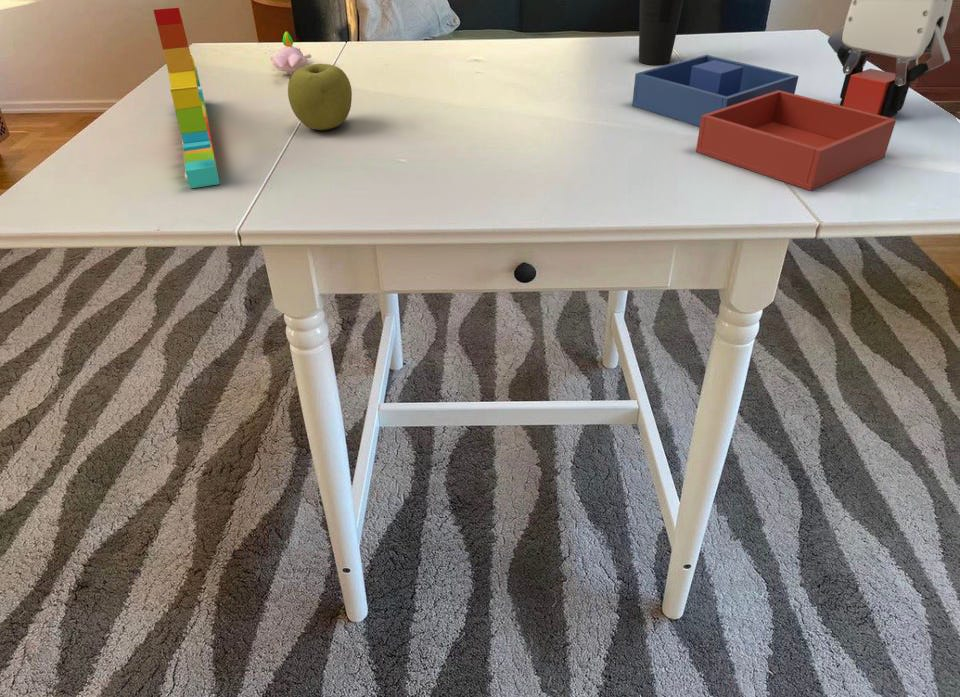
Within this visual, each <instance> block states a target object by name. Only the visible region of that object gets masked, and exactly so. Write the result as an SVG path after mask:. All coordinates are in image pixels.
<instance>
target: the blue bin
mask: <svg viewBox="0 0 960 697" xmlns="http://www.w3.org/2000/svg"><path fill="white" fill-rule="evenodd" d="M713 60H717V61H721V62H725V63H730V64H734V65H738V66H742V67H744V69H743V74H742V80H741V85H740V90H739V93H737V94H733V95H730V96H727V97H726V96H723V95H719V94H716V93H712V92H708V91H705V90H701V89H697V88H693V87H690V86H689V84H690V77H691V71H692V66H695V65H698V64H702V63H706V62H709V61H713ZM799 77H800V76H799V75H796V74H792V73H788V72H784V71H779V70H775V69H771V68H768V67H767V68H766V67H762V66H757V65H754V64H749V63H746V62H745V63H744V62H740V61H735V60H732V59H727V58H722V57H718V56H715V55H709V54H703V55H699V56H695V57H692V58H688V59H685V60H684V59H683V60H681V61H677V62H673V63H670V64H669V63H668V64H664V65H661V66H658V67H655V68H650V69H647V70H643V71H640V72H635V76H634V84H633V93H632V102H631V106H633V107H636V108H639V109H641V110H645V111H649V112H650V113H651V112H652V113H655V114H658V115H662V116H664V117H668V118H671V119H674V120H677V121H681V122H684V123H687V124H690V125H692V126H695V127H699V128H700V122H701V116H702V115H704V114H707V113H710V112H713V111H716V110H719V109H723V108H726V107H729V106H732V105H735V104H738V103H741V102H744V101H747V100H750V99H753V98H756V97H759V96H762V95H765V94H768V93H771V92H774V91H777V90H780V91H784V92H788V93H792V94H796V89H797V85H798V81H799Z"/></svg>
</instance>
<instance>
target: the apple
mask: <svg viewBox="0 0 960 697" xmlns="http://www.w3.org/2000/svg"><path fill="white" fill-rule="evenodd" d="M352 91H353V90H352V85H351V82H350V79H349V78H348V76H347V74H346V73H345V72H344V71H343V70H342V69H341V68H340V67H338V66H336V65H333V64H327V63H313V64H307V65H306V66H304V67H301V68H299V69H298V70H296V71H295V72H294V73H293V74H292V75H291V76H290V78H289V80H288V84H287V96H288V102H289V105H290V108H291V109H292V112H293V114H294V115H295V116H296V118H297V119H298V120H299V122H301V123H302V125H304V126H305V127H307V128H309V129H312V130H316V131H327V130H328V131H329V130H331V129H334V128H336V127H338V126H340V125H341V124H343V122H345V121H346V120H347V118H348V117H349V114H350V112H351V107H352V100H353V99H352V97H353V92H352Z"/></svg>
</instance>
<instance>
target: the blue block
mask: <svg viewBox="0 0 960 697" xmlns="http://www.w3.org/2000/svg"><path fill="white" fill-rule="evenodd" d="M743 69H744V67H742V66H738V65H734V64H730V63H725V62H721V61H717V60H713V61H709V62H706V63H702V64H698V65H695V66H692V71H691V77H690V84H689V86H690V87H693V88H697V89H701V90H705V91H708V92H712V93H716V94H719V95H723V96H726V97H727V96H730V95H733V94H737V93H739V90H740V85H741V80H742V74H743Z"/></svg>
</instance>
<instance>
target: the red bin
mask: <svg viewBox="0 0 960 697" xmlns="http://www.w3.org/2000/svg"><path fill="white" fill-rule="evenodd" d="M896 123H897V119H896V118H892V117H889V118H888V117H884V116H880V115H876V114H872V113H868V112H864V111H860V110H856V109H852V108H848V107H844V106H840V104H836V103H831V102H828V101H825V100H819V99H816V98H812V97H807V96H804V95H800V94H796V93H795V94H792V93H788V92H784V91H780V90H777V91H774V92H771V93H768V94H765V95H762V96H759V97H756V98H753V99H750V100H747V101H744V102H741V103H738V104H735V105H732V106H729V107H726V108H723V109H719V110H716V111H713V112H710V113H707V114H704V115H702V116H701V122H700V127H699V130H698V136H697V142H696V143H697V144H696V148H695V152H696V153H699V154H702V155H704V156H708V157H709V158H710V157H711V158H712V159H713V158H714V159H716V160H719V161H722V162H725V163H728V164H731V165H734V166H737V167H740V168H743V169H745V170H749V171H752V172H754V173H758V174H760V175H763V176H766V177H769V178H772V179H775V180H777V181H780V182H784V183H786V184H789V185H792V186H795V187H798V188H801V189H804V190H807V191H810V192H811V191H814V190H816V189H819V188H820V187H822V186H825V185H826V184H828V183H831V182H833V181H835V180H838V179H840V178H841V177H844V176H846V175H848V174H850V173H853V172H855V171H857V170H859V169H861V168H864V167H866V166H868V165H870V164H872V163H875V162H877V161H879V160H880V159H883V158H885V157H886V154H887V150H888V147H889V144H890V140H891V138H892V135H893V132H894V128H895V125H896Z"/></svg>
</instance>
